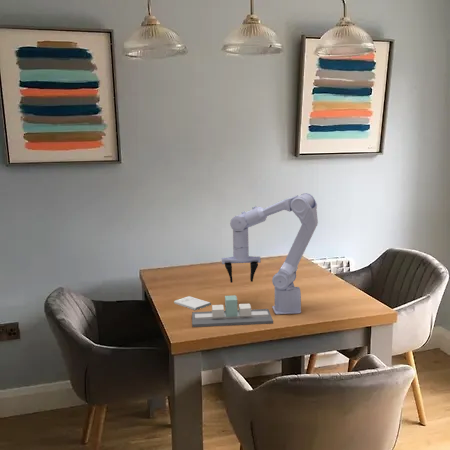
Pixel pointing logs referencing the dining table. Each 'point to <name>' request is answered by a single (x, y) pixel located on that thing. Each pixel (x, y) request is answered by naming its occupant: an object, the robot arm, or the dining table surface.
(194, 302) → the external hard drive
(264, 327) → the dining table surface
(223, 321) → the rail board
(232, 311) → the block
